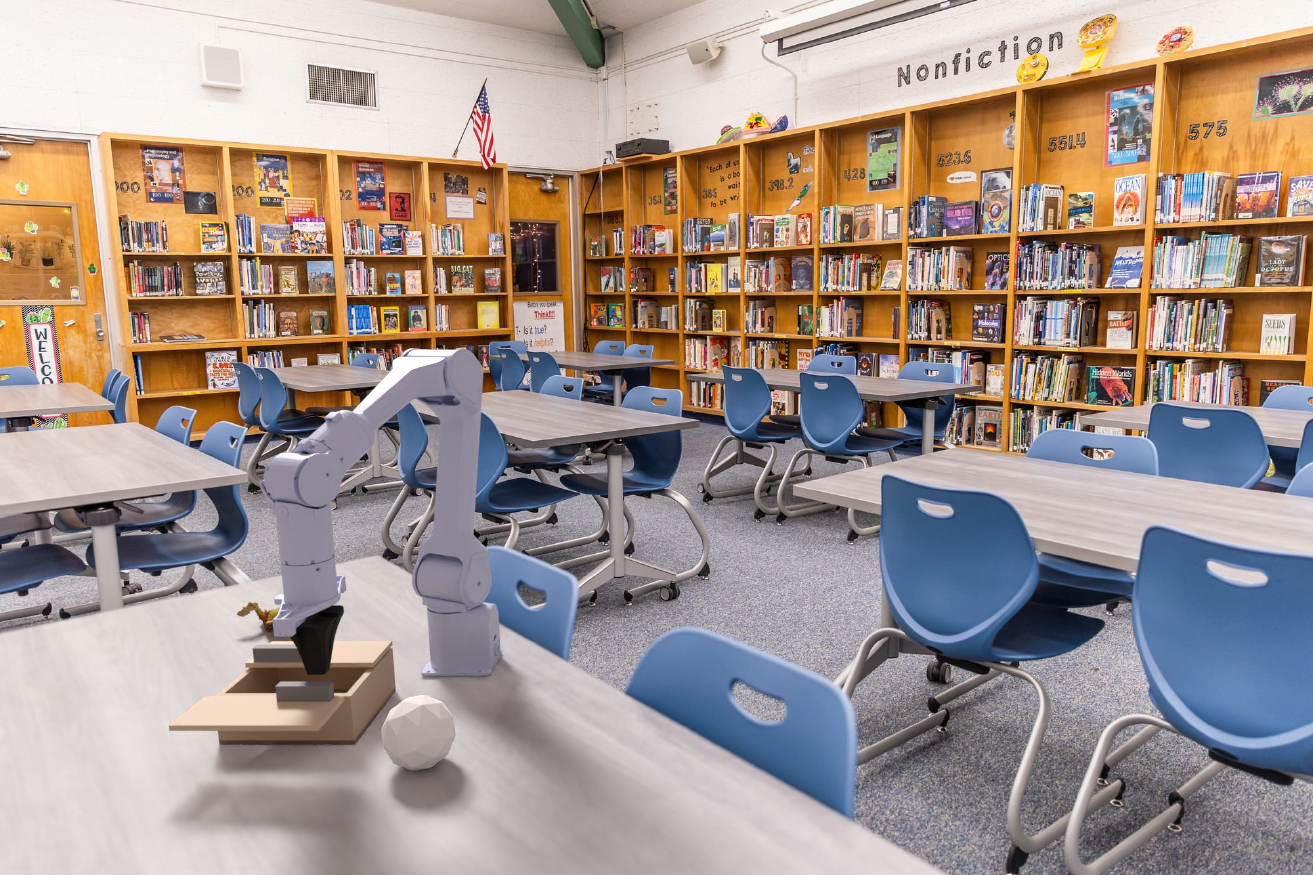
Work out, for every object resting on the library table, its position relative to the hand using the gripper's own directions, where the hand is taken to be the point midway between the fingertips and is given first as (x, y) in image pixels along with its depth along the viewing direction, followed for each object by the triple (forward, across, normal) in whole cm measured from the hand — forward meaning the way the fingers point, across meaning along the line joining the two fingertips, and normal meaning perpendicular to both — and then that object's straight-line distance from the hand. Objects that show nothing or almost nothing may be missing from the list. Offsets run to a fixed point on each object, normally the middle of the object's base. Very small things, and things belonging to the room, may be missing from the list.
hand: (318, 672), depth 100 cm
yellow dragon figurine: (+9, -36, -22) cm, 43 cm away
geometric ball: (+9, +5, +13) cm, 16 cm away
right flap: (+2, -10, -4) cm, 11 cm away
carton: (+8, -6, -4) cm, 11 cm away
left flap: (+2, +6, -4) cm, 8 cm away
